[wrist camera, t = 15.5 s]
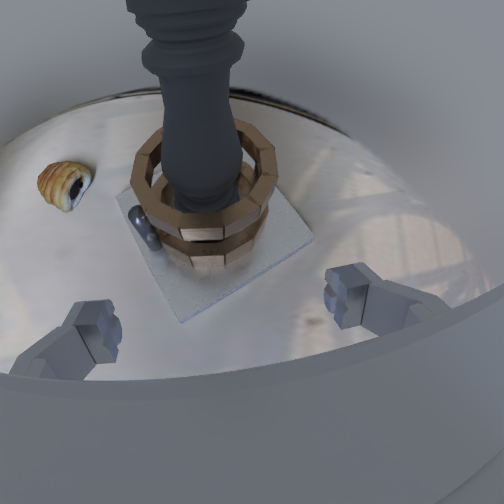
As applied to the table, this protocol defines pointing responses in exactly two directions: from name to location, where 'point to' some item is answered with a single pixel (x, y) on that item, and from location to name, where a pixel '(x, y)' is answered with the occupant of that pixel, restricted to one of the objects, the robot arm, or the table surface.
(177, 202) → the candle holder
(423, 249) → the table surface
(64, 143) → the table surface
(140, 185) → the collar stand
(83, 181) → the pastry
